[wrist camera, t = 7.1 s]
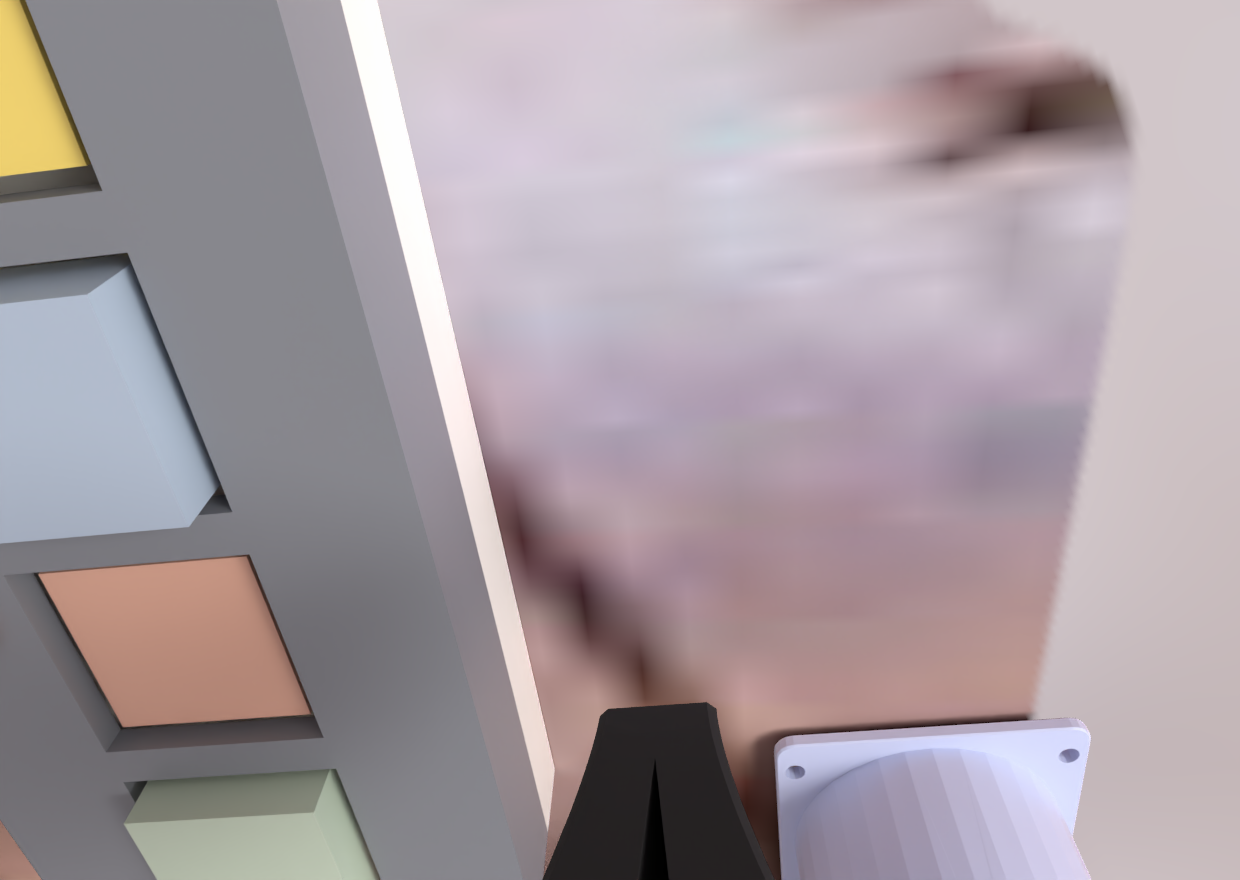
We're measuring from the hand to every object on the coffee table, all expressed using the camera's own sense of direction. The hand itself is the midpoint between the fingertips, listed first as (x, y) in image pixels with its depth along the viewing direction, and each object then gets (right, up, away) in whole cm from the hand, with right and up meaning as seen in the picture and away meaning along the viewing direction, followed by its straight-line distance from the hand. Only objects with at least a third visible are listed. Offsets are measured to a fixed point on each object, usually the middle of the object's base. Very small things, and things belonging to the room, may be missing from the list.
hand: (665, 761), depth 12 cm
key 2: (-9, +1, +8) cm, 12 cm away
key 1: (-8, -4, +10) cm, 13 cm away
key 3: (-10, +5, +4) cm, 12 cm away
